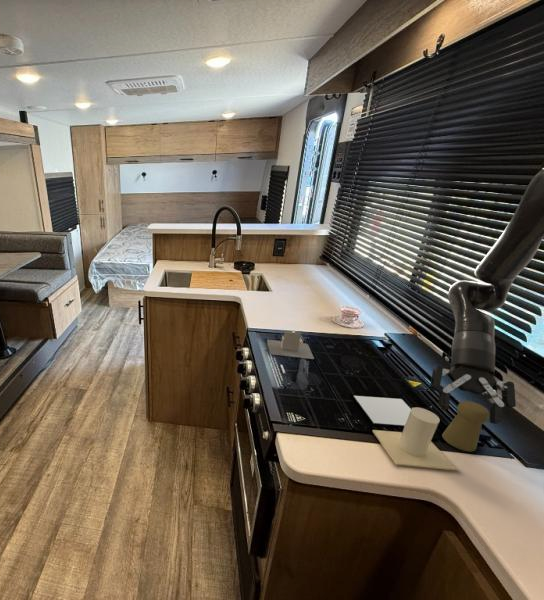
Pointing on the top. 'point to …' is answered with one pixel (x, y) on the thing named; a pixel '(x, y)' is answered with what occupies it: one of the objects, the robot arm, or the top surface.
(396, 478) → the top surface
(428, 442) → the beige cylinder
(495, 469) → the top surface
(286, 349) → the architectural model
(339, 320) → the teacup
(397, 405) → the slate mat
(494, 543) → the top surface
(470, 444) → the cork
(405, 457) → the cream mat
